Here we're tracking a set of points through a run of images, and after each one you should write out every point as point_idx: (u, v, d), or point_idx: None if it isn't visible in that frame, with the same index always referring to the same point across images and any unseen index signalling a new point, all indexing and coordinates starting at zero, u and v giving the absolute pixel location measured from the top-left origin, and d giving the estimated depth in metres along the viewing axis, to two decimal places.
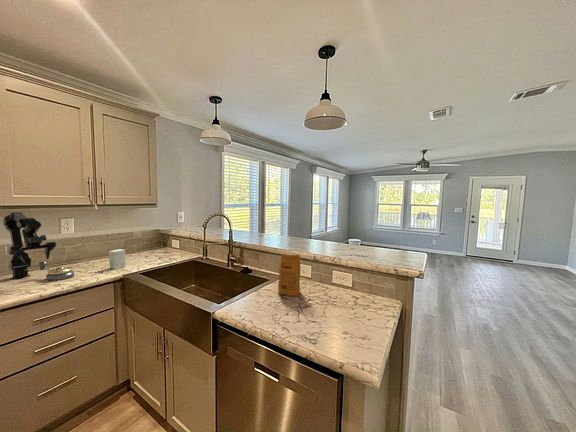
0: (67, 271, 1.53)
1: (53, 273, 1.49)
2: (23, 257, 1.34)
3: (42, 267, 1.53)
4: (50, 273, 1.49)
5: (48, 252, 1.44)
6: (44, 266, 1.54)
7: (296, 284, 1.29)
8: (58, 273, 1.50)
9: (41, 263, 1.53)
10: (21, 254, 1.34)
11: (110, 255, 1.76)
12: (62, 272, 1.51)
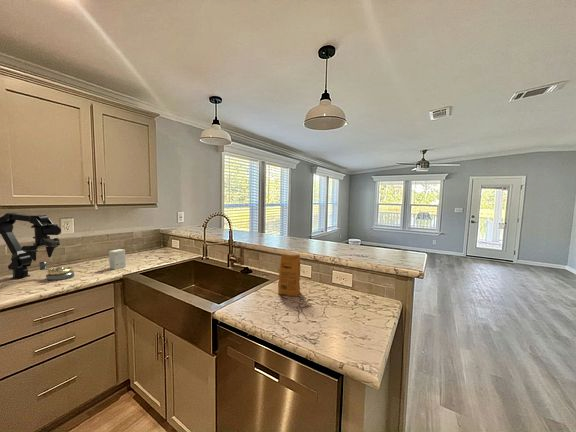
0: (67, 271, 1.53)
1: (53, 273, 1.49)
2: (35, 256, 1.48)
3: (42, 267, 1.53)
4: (50, 273, 1.49)
5: (52, 251, 1.59)
6: (44, 266, 1.54)
7: (296, 284, 1.29)
8: (58, 273, 1.50)
9: (41, 263, 1.53)
10: (34, 253, 1.48)
11: (110, 255, 1.76)
12: (62, 272, 1.51)
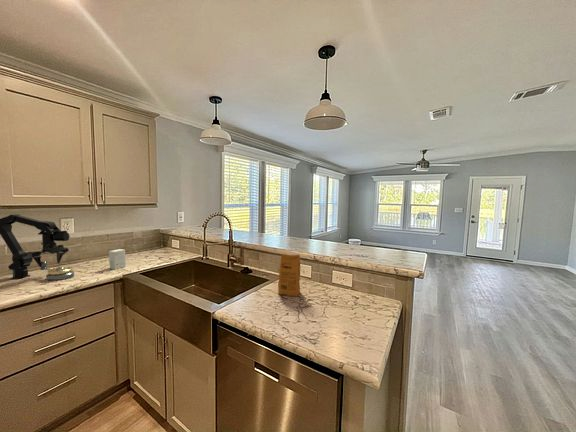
0: (67, 271, 1.53)
1: (53, 273, 1.49)
2: (39, 262, 1.52)
3: (42, 267, 1.53)
4: (50, 273, 1.49)
5: (60, 257, 1.62)
6: (44, 266, 1.54)
7: (296, 284, 1.29)
8: (58, 273, 1.50)
9: (41, 263, 1.53)
10: (38, 259, 1.51)
11: (110, 255, 1.76)
12: (62, 272, 1.51)
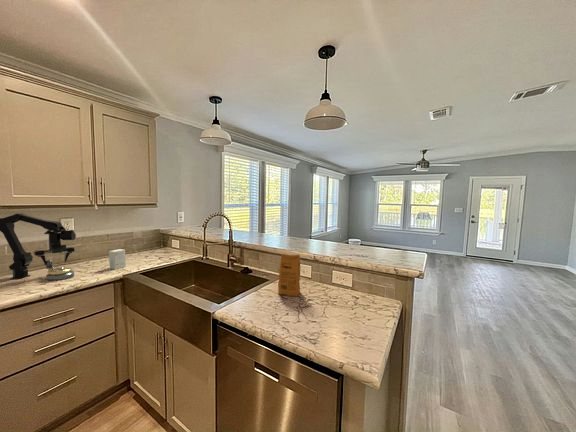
0: (64, 272, 1.52)
1: (50, 273, 1.49)
2: (44, 261, 1.55)
3: (47, 266, 1.56)
4: (48, 273, 1.50)
5: (66, 257, 1.63)
6: (49, 265, 1.57)
7: (296, 284, 1.29)
8: (54, 273, 1.49)
9: (46, 262, 1.56)
10: (43, 258, 1.54)
11: (110, 255, 1.76)
12: (58, 273, 1.50)
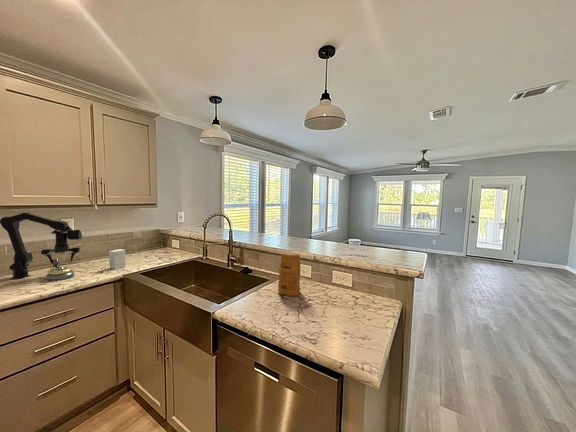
0: (60, 272, 1.51)
1: (48, 273, 1.49)
2: (50, 260, 1.58)
3: (53, 264, 1.59)
4: (48, 272, 1.50)
5: (72, 257, 1.64)
6: (55, 264, 1.59)
7: (296, 284, 1.29)
8: (51, 273, 1.49)
9: (52, 261, 1.59)
10: (49, 257, 1.58)
11: (110, 255, 1.76)
12: (55, 273, 1.49)
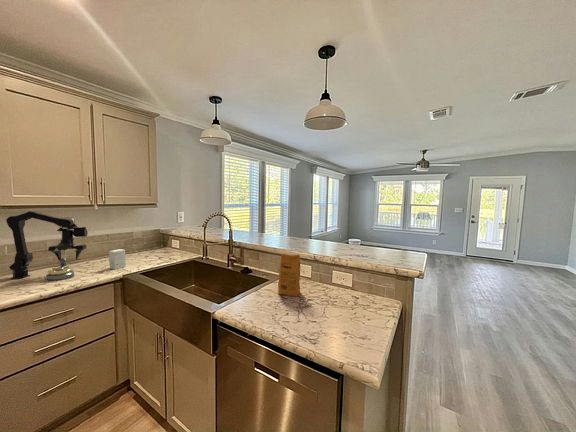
0: (56, 273, 1.49)
1: (48, 272, 1.50)
2: (57, 256, 1.61)
3: (60, 263, 1.62)
4: None
5: (76, 254, 1.64)
6: (61, 263, 1.62)
7: (296, 284, 1.29)
8: (49, 273, 1.49)
9: (60, 260, 1.62)
10: (56, 254, 1.60)
11: (110, 255, 1.76)
12: (51, 273, 1.49)
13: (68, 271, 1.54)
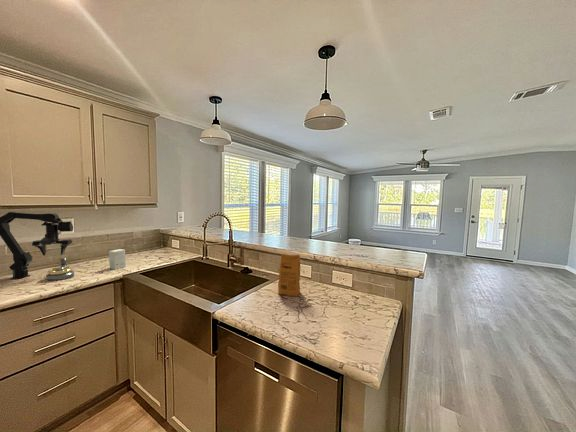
0: (56, 273, 1.49)
1: (48, 272, 1.50)
2: (42, 251, 1.58)
3: (61, 263, 1.62)
4: None
5: (61, 249, 1.61)
6: (62, 263, 1.62)
7: (296, 284, 1.29)
8: (49, 273, 1.49)
9: (60, 260, 1.62)
10: (40, 249, 1.57)
11: (110, 255, 1.76)
12: (51, 273, 1.49)
13: (68, 271, 1.54)
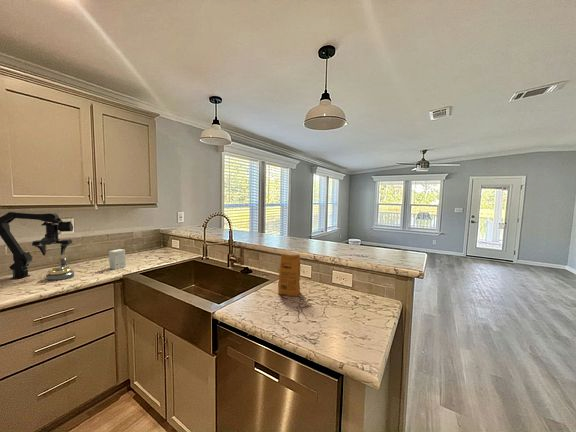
0: (56, 273, 1.49)
1: (48, 272, 1.50)
2: (42, 251, 1.58)
3: (61, 263, 1.62)
4: None
5: (61, 249, 1.61)
6: (62, 263, 1.62)
7: (296, 284, 1.29)
8: (49, 273, 1.49)
9: (60, 260, 1.62)
10: (40, 249, 1.57)
11: (110, 255, 1.76)
12: (51, 273, 1.49)
13: (68, 271, 1.54)
